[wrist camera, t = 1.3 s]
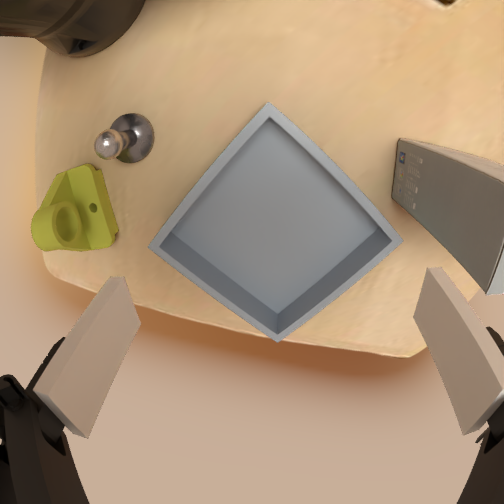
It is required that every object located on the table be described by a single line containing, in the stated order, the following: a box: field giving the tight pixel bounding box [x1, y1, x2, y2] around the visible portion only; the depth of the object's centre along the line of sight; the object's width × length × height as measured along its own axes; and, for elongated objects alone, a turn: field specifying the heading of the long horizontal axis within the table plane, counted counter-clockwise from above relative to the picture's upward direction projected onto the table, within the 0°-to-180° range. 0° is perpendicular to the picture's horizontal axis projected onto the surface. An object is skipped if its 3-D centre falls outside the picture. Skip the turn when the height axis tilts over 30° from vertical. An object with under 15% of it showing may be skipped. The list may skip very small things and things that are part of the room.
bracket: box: [31, 164, 119, 251], centre depth 31 cm, size 11×6×10 cm, turn 9°
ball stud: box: [94, 113, 154, 163], centre depth 28 cm, size 6×6×7 cm
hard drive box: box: [392, 138, 504, 295], centre depth 21 cm, size 16×8×20 cm, turn 90°
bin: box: [148, 102, 403, 342], centre depth 33 cm, size 20×20×5 cm
